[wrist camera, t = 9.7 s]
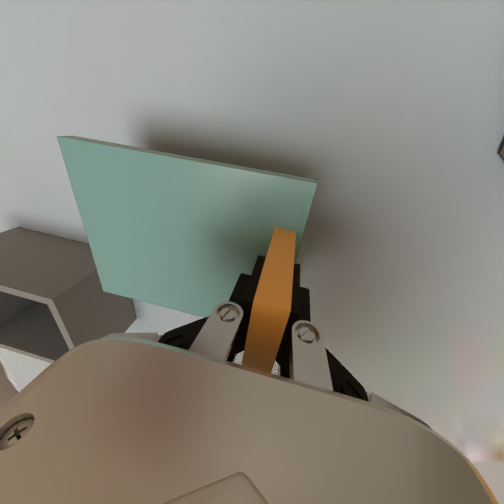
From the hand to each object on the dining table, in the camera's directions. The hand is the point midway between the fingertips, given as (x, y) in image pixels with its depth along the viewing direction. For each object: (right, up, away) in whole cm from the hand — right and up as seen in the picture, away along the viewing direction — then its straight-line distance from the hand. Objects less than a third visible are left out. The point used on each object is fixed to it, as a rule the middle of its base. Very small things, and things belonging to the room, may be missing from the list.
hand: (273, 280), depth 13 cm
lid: (-6, +2, +2) cm, 6 cm away
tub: (-24, -2, +15) cm, 28 cm away
